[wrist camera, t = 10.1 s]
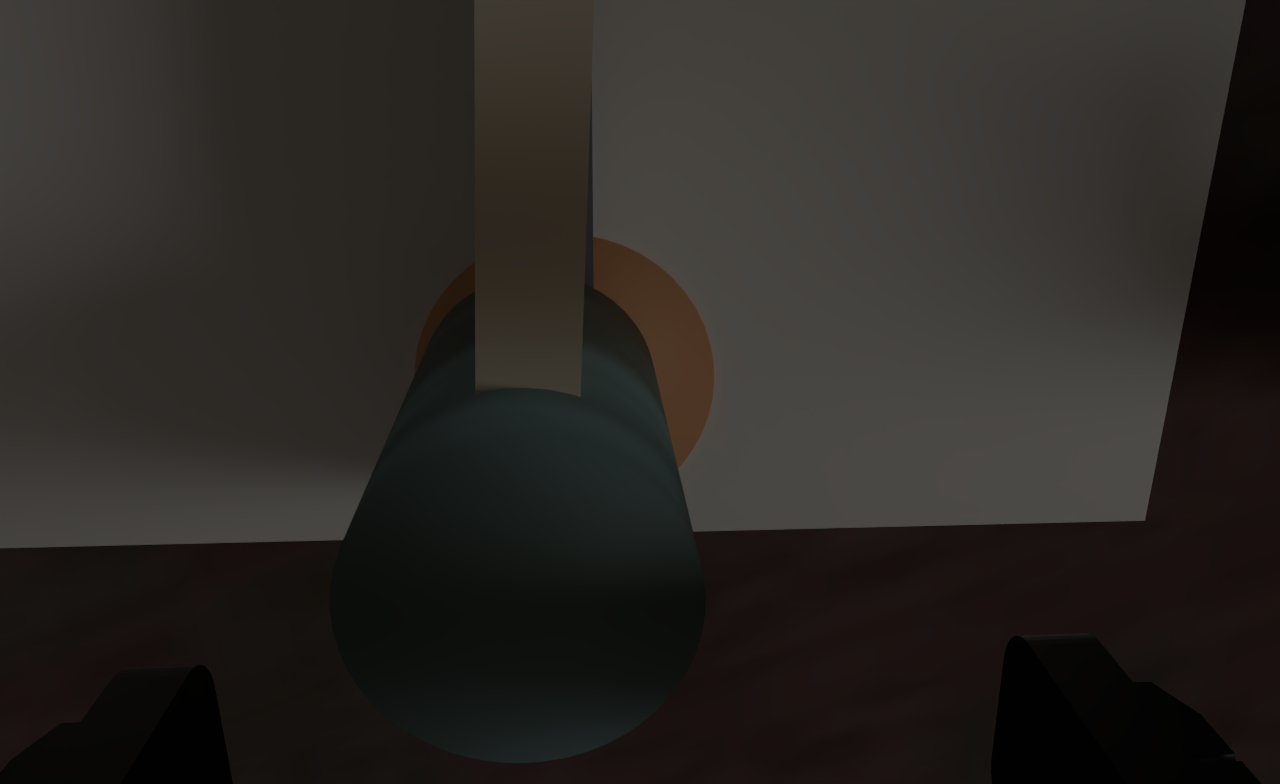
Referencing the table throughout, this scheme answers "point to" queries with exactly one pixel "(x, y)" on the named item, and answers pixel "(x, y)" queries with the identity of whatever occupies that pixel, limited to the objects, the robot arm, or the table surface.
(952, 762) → the table surface
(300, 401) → the card
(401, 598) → the teal cylinder with tab
